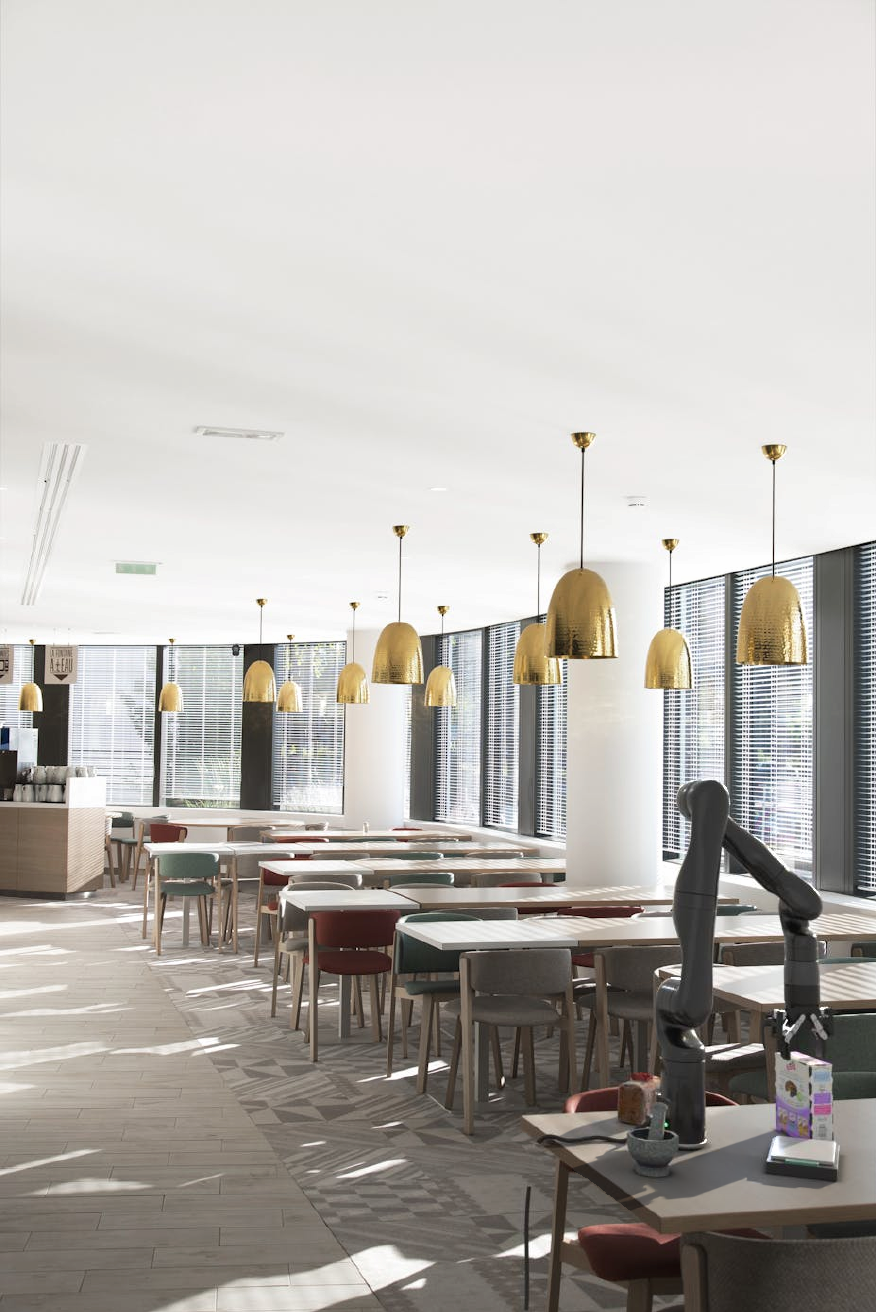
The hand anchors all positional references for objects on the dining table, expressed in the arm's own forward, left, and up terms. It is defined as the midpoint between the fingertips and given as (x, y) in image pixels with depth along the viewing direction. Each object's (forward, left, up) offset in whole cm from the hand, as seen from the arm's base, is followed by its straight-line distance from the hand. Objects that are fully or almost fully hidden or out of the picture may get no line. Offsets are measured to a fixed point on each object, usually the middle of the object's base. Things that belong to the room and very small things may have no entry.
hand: (803, 1058), depth 269 cm
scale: (-12, -17, -16) cm, 26 cm away
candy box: (0, 0, -16) cm, 16 cm away
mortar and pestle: (-43, -13, -16) cm, 48 cm away
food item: (-26, +23, -16) cm, 38 cm away
